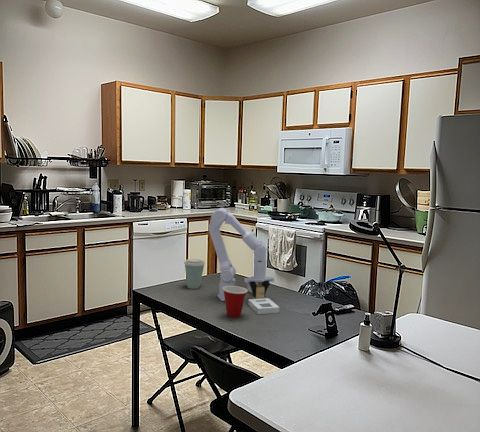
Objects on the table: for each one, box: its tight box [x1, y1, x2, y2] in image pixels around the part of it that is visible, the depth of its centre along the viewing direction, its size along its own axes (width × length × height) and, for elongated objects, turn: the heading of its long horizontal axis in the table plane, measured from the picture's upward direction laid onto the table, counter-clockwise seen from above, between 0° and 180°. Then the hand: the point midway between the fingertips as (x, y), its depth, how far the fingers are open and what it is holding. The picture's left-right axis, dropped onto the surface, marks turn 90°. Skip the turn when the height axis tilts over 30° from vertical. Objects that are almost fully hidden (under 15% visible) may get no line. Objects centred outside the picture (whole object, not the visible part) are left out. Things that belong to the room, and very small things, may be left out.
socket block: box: [247, 297, 280, 315], centre depth 199 cm, size 14×10×2 cm
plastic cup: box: [223, 285, 249, 319], centre depth 188 cm, size 11×11×12 cm
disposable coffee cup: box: [184, 258, 205, 290], centre depth 230 cm, size 11×11×15 cm
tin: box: [245, 276, 262, 295], centre depth 220 cm, size 15×3×8 cm, turn 30°
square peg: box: [253, 285, 265, 299], centre depth 211 cm, size 4×4×7 cm
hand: (258, 296), depth 211 cm, fingers closed on square peg, 4 cm apart
